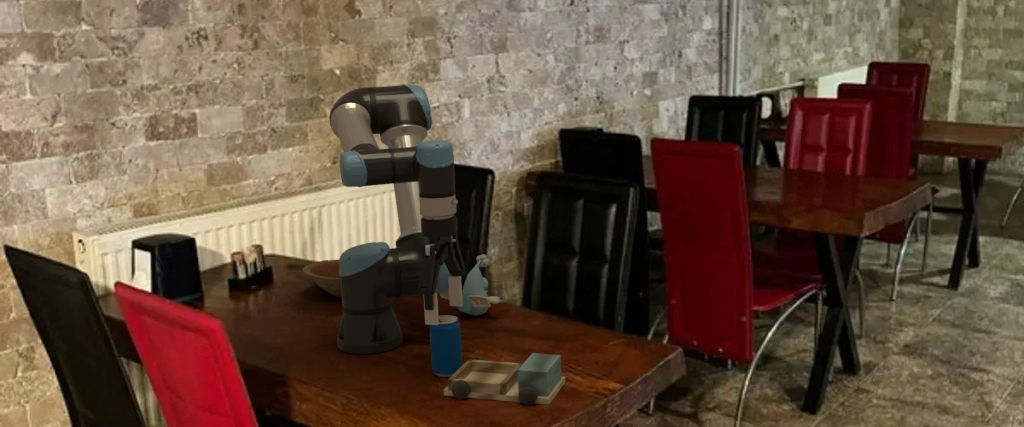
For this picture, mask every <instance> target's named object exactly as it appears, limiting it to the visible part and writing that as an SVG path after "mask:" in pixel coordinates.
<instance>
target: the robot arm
mask: <svg viewBox="0 0 1024 427" xmlns="http://www.w3.org/2000/svg"><path fill="white" fill-rule="evenodd" d="M428 97H429V96H428V95H427V93H426V91H425V89H424V88H423V87H422V86H420V85H418V84H401V85H387V86H371V87H367V86H365V87H358V88H354V89H353V90H350V91H348V92H346V93H345V94H344V95H342V96H341V97H339V99H337V100H336V102H334V104H333V106H332V107H331V110H330V112H329V119H328V120H329V125H330V129H331V131H332V132H333V134H334V135H335V136H336V137H337V138H339V142H340V144H341V148H342V150H343V152H341V154H340V155H339V169H340V170H339V171H340V178H341V183H342V185H343V186H344V187H347V188H352V187H353V188H355V187H357V188H363V187H371V186H382V185H383V186H384V185H393V191H394V197H395V198H394V199H395V205H396V212H397V217H398V224H399V232H400V234H399V237H398V238H397V239H396V240H395V247H392V248H391V247H390V246H389V243H387V242H384V241H378V242H376V241H371V242H365V243H362V244H361V243H360V244H358V245H355V246H352V247H350V248H348V249H346V250H344V251H343V252H342V253H341V254H340V256H339V258H338V260H339V276H340V280H341V294H342V297H341V305H342V306H341V307H342V316H341V321H340V324H339V328H338V333H337V337H336V338H337V339H336V341H337V348H338V350H340V351H341V352H344V353H349V354H354V355H369V354H370V355H372V354H379V353H383V352H388V351H391V350H394V349H395V348H398V347H399V346H401V345H402V344H403V340H404V339H403V338H404V337H403V331H402V329H401V326H400V323H399V321H398V318H397V316H396V314H395V311H394V303H393V299H398V298H399V299H401V298H407V297H409V298H410V297H417V296H423V308H424V309H423V311H424V324H425V325H427V326H430V325H438V324H439V317H438V316H439V304H438V301H439V300H438V294H440V293H442V292H447V291H448V290H449V306H450V307H458V306H463V302H462V290H463V287H462V286H463V285H462V276H466V270H465V269H466V267H465V262H464V259H463V255H462V252H461V248H460V244H459V236H458V231H459V228H458V217H457V216H456V215H455V214H456V213H457V205H458V204H459V201H458V200H457V198H456V180H455V179H456V178H455V154H454V147H453V144H452V142H451V141H450V140H444V139H433V140H425V139H426V138H427V136H428V131H429V130H430V131H431V129H432V126H433V116H432V109H431V106H430V100H429V98H428ZM374 135H379V137H380V141H381V143H382V144H383V145H385V146H386V147H388V148H379V145H378V143H377V140H376V138H375V136H374Z"/></svg>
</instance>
